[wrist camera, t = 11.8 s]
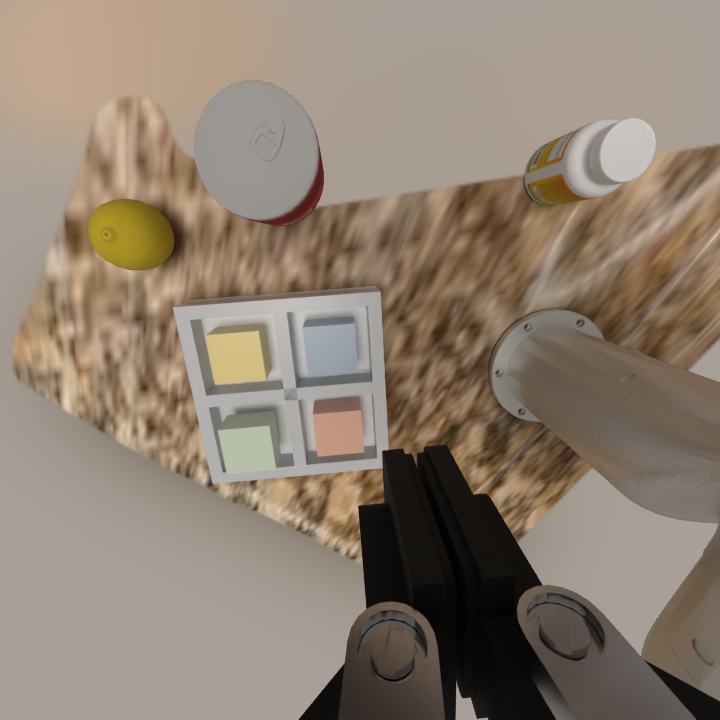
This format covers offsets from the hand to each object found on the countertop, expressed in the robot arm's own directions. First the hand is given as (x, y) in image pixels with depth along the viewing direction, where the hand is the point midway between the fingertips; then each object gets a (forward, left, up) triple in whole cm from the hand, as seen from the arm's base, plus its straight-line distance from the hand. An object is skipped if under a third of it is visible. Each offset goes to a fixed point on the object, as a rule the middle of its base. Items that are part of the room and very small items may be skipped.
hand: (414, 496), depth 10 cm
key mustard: (+11, +3, -27) cm, 29 cm away
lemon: (+18, -8, -29) cm, 35 cm away
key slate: (+3, +3, -27) cm, 27 cm away
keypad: (+7, +7, -29) cm, 31 cm away
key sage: (+11, +11, -25) cm, 30 cm away
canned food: (+6, -12, -29) cm, 32 cm away
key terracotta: (+3, +11, -27) cm, 29 cm away
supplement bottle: (-19, -11, -29) cm, 37 cm away
